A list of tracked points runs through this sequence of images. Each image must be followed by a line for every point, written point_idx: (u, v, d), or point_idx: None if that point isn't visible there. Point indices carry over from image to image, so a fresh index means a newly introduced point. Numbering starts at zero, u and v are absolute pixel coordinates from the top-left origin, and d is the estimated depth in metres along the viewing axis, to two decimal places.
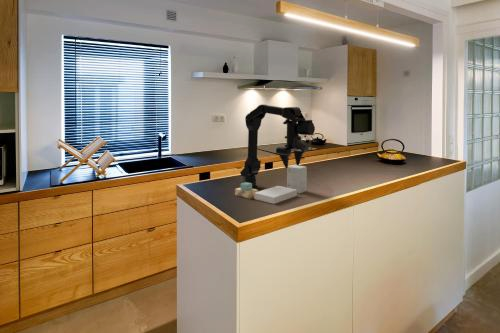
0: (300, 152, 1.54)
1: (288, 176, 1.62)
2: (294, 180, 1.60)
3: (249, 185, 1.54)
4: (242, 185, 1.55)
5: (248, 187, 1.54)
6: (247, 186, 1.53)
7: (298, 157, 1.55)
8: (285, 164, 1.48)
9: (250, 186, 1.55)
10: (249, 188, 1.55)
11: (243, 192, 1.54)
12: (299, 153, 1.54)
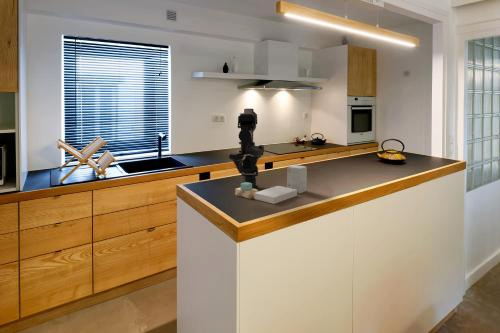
0: (255, 157, 1.56)
1: (288, 176, 1.62)
2: (294, 180, 1.60)
3: (249, 185, 1.55)
4: (242, 185, 1.55)
5: (248, 186, 1.54)
6: (247, 186, 1.54)
7: (253, 162, 1.57)
8: (239, 169, 1.50)
9: (250, 186, 1.55)
10: (249, 188, 1.55)
11: (243, 192, 1.54)
12: (254, 158, 1.57)
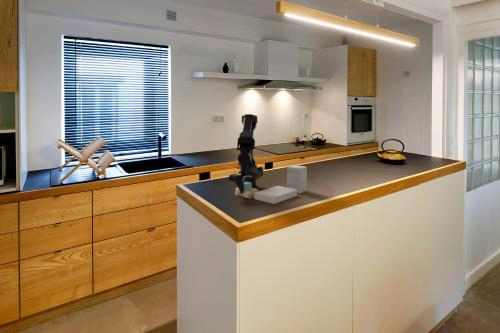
0: (253, 178, 1.57)
1: (288, 176, 1.62)
2: (294, 180, 1.60)
3: (249, 185, 1.54)
4: None
5: (247, 186, 1.54)
6: (247, 186, 1.53)
7: None
8: (240, 190, 1.53)
9: (250, 186, 1.55)
10: (249, 188, 1.55)
11: (243, 192, 1.53)
12: (252, 179, 1.58)
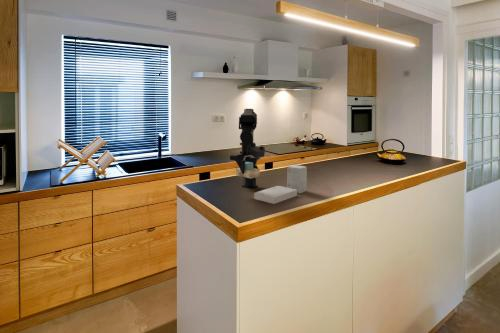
0: (254, 159, 1.55)
1: (288, 176, 1.62)
2: (294, 180, 1.60)
3: (250, 164, 1.52)
4: None
5: (249, 166, 1.52)
6: (248, 165, 1.51)
7: None
8: (241, 170, 1.51)
9: (251, 165, 1.53)
10: (250, 167, 1.53)
11: None
12: (253, 160, 1.55)
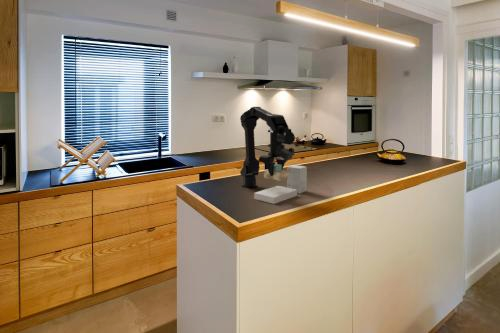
0: (282, 161, 1.52)
1: (288, 176, 1.62)
2: (294, 180, 1.60)
3: (279, 166, 1.49)
4: None
5: (277, 168, 1.48)
6: (277, 167, 1.48)
7: None
8: (270, 172, 1.48)
9: (280, 167, 1.50)
10: (279, 169, 1.49)
11: (273, 173, 1.48)
12: (281, 162, 1.52)
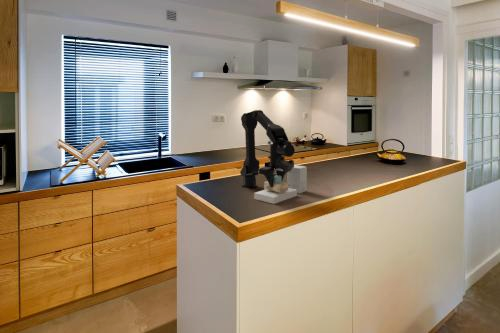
0: (282, 172, 1.53)
1: (288, 176, 1.62)
2: (294, 180, 1.60)
3: (279, 178, 1.50)
4: None
5: (277, 179, 1.49)
6: (277, 179, 1.49)
7: None
8: (270, 184, 1.49)
9: (280, 179, 1.51)
10: (279, 181, 1.50)
11: (273, 185, 1.49)
12: (281, 173, 1.53)
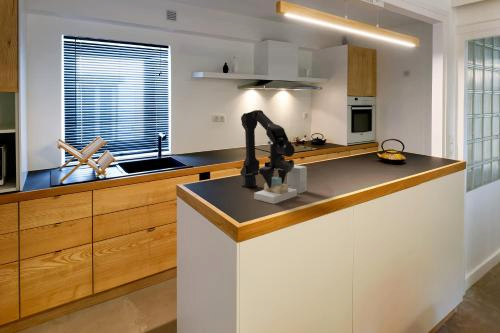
0: (284, 171, 1.54)
1: (288, 176, 1.62)
2: (294, 180, 1.60)
3: (279, 180, 1.50)
4: (272, 180, 1.50)
5: (277, 181, 1.50)
6: (277, 181, 1.49)
7: (282, 176, 1.55)
8: (268, 184, 1.48)
9: (280, 181, 1.51)
10: (279, 183, 1.50)
11: (273, 187, 1.49)
12: (283, 172, 1.54)
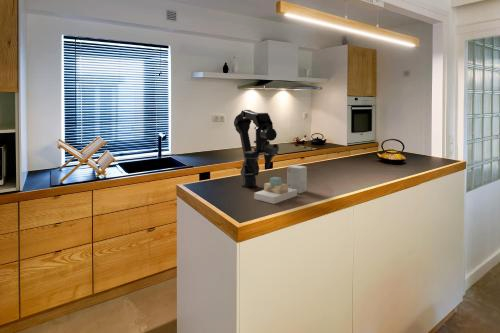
0: (269, 156, 1.60)
1: (288, 176, 1.62)
2: (294, 180, 1.60)
3: (279, 180, 1.50)
4: (272, 180, 1.50)
5: (277, 181, 1.50)
6: (277, 181, 1.49)
7: (268, 161, 1.61)
8: (254, 168, 1.54)
9: (280, 181, 1.51)
10: (279, 183, 1.50)
11: (273, 187, 1.49)
12: (269, 157, 1.60)
